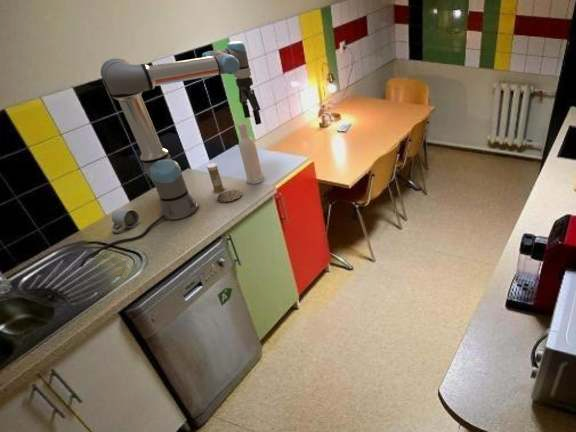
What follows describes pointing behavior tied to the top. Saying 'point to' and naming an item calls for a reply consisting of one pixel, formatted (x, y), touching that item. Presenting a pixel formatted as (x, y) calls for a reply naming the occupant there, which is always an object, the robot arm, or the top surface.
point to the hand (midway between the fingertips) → (253, 120)
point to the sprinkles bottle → (215, 177)
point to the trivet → (229, 196)
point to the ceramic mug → (124, 219)
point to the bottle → (249, 156)
